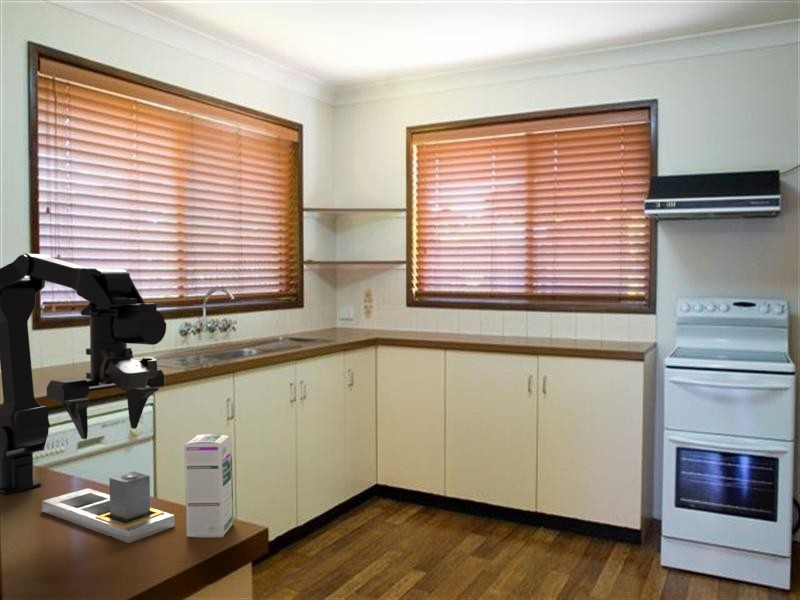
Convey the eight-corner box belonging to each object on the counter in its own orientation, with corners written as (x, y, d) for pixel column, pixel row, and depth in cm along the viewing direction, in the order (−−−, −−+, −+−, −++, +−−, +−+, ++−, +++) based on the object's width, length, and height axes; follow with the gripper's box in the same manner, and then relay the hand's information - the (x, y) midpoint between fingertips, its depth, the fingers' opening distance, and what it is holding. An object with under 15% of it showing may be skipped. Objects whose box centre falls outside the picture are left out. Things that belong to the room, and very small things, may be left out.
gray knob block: (110, 528, 103) (109, 476, 103) (134, 520, 107) (133, 470, 106) (126, 534, 101) (125, 481, 101) (150, 526, 104) (149, 474, 104)
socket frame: (42, 511, 111) (42, 499, 111) (87, 498, 117) (87, 487, 117) (128, 543, 97) (128, 529, 97) (174, 526, 104) (174, 513, 104)
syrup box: (223, 537, 99) (222, 442, 99) (184, 537, 100) (183, 442, 99) (234, 523, 105) (233, 433, 105) (197, 523, 105) (196, 433, 105)
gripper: (83, 350, 100) (84, 452, 101) (184, 340, 116) (185, 429, 116) (44, 346, 107) (45, 442, 107) (145, 337, 122) (146, 421, 123)
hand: (109, 433), depth 113 cm, fingers open, 9 cm apart
